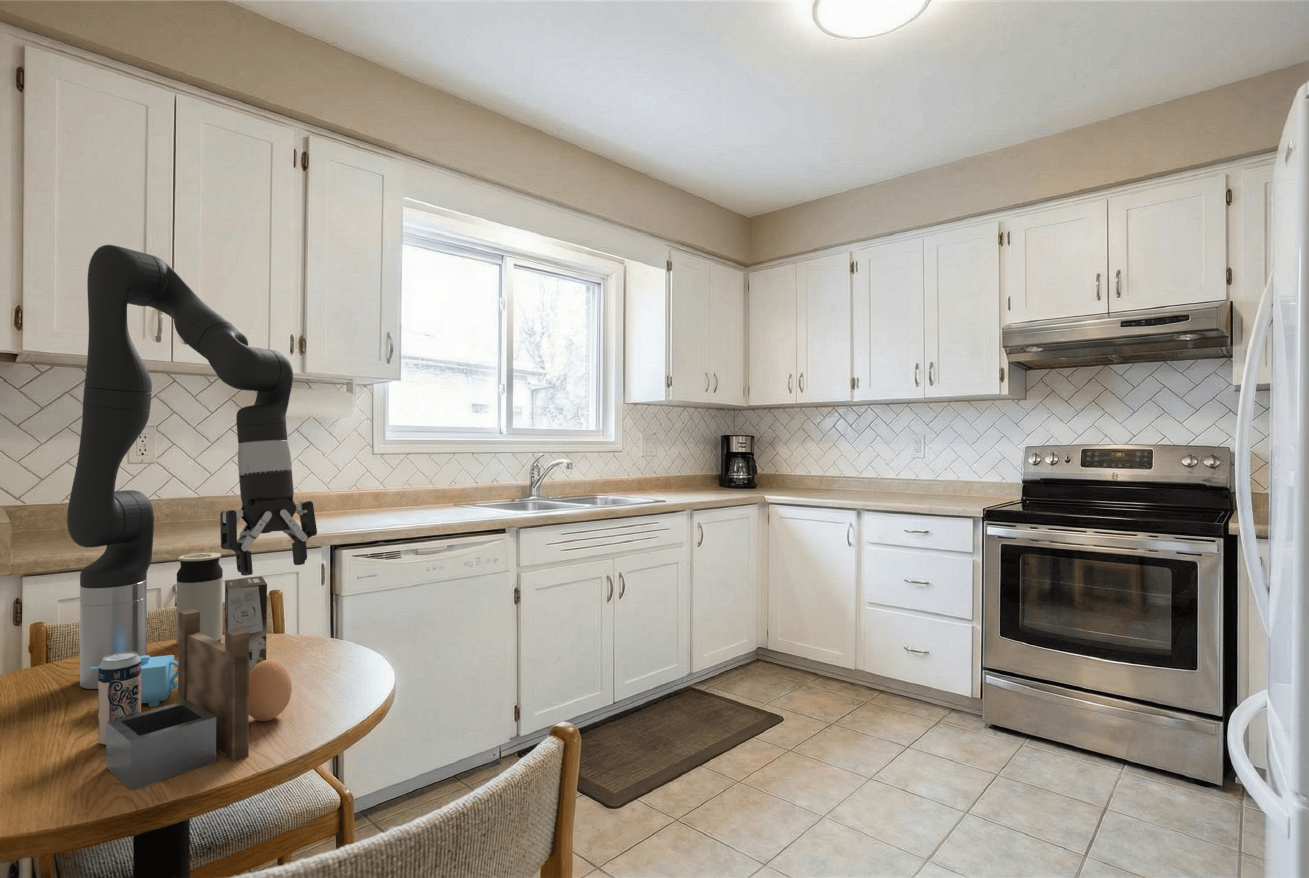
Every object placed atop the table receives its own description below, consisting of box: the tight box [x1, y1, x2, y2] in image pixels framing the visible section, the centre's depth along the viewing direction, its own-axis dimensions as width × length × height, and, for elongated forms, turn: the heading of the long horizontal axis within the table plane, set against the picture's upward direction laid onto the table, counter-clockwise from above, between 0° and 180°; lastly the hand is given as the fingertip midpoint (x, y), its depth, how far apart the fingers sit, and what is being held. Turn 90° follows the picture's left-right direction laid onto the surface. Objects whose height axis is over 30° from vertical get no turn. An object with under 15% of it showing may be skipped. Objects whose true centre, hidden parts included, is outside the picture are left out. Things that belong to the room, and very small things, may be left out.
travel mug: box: [176, 552, 224, 645], centre depth 143 cm, size 8×8×18 cm
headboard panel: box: [177, 609, 250, 763], centre depth 98 cm, size 19×2×17 cm, turn 53°
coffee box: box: [224, 576, 268, 673], centre depth 127 cm, size 9×6×16 cm
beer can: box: [97, 652, 142, 746], centre depth 97 cm, size 5×5×12 cm
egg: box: [249, 659, 293, 722], centre depth 105 cm, size 7×7×9 cm
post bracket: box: [105, 700, 217, 792], centre depth 91 cm, size 9×9×6 cm
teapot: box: [91, 654, 178, 707], centre depth 111 cm, size 12×6×8 cm, turn 115°
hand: (273, 569), depth 111 cm, fingers open, 8 cm apart
